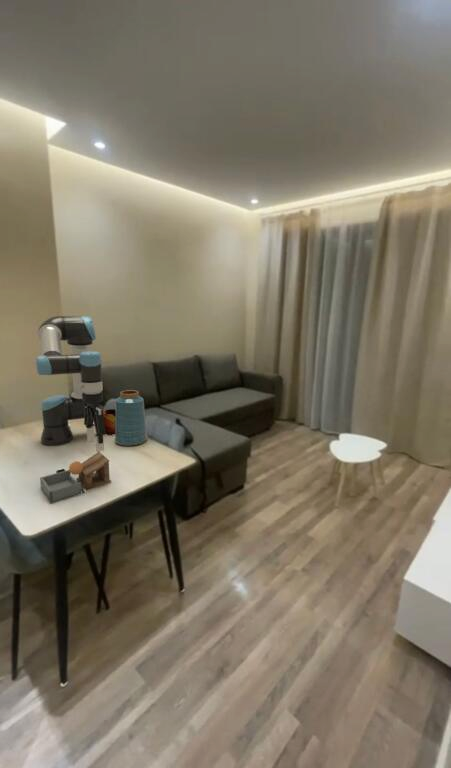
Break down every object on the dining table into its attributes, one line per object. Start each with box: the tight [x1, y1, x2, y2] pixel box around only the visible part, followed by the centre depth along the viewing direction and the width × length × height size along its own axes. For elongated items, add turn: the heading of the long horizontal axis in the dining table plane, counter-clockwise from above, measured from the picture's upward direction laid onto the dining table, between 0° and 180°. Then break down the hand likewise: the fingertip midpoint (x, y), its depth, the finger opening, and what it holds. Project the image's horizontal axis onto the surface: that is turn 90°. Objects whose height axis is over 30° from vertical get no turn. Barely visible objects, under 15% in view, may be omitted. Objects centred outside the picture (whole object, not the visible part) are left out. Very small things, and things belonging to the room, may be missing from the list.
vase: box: [114, 389, 148, 447], centre depth 179 cm, size 16×16×27 cm
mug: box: [103, 408, 116, 436], centre depth 194 cm, size 10×14×12 cm
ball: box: [68, 461, 83, 476], centre depth 133 cm, size 5×5×5 cm
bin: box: [39, 469, 83, 504], centre depth 131 cm, size 14×11×4 cm
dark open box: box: [55, 468, 66, 474], centre depth 142 cm, size 3×3×2 cm
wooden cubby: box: [76, 451, 112, 491], centre depth 138 cm, size 11×10×10 cm
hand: (95, 446), depth 137 cm, fingers open, 9 cm apart
